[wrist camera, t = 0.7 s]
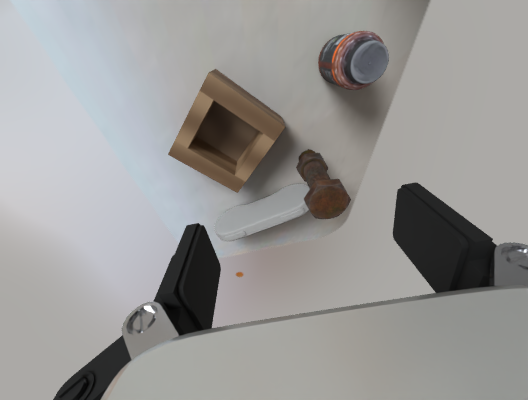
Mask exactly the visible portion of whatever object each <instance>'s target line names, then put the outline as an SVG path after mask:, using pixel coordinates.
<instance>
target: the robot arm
mask: <svg viewBox="0 0 528 400" xmlns="http://www.w3.org/2000/svg"><path fill="white" fill-rule="evenodd" d="M393 237H394V240H395V241H396V242H397V244H398V245H399V246H400V247H401V249H402V250H403V251H404V253H405V254H406V255H407V257H408V258H409V259H410V260H411V262H412V263H413V264H414V265H415V266H416V268H417V269H418V271H419V272H420V273H421V274H422V276H423V277H424V278H425V279H426V281H427V282H428V283H429V285H430V286H431V287H432V288H433V290H434V291H435V292H436V293H433V294H427V295H420V296H413V297H406V298H400V299H393V300H387V301H380V302H373V303H366V304H360V305H354V306H347V307H341V308H334V309H328V310H321V311H315V312H309V313H302V314H296V315H289V316H284V317H277V318H271V319H265V320H258V321H252V322H246V323H240V324H234V325H229V326H223V327H217V328H212V322H213V315H214V309H215V303H216V296H217V290H218V284H219V277H220V271H221V268H220V263H219V260H218V258H217V256H216V253H215V251H214V248H213V246H212V244H211V241H210V239H209V236H208V234H207V231H206V229H205V227H204V226H203V225H202V226H201V225H200V224H199V223H197V224H191V225H187V226H186V228H185V231H184V233H183V236H182V238H181V240H180V243H179V245H178V248H177V250H176V253H175V255H174V256H173V257H172V258H171V261H170V263H169V266H168V268H167V271H166V273H165V275H164V278H163V280H162V282H161V285H160V287H159V290H158V292H157V294H156V297H155V299H154V302H147V303H145V304H142V305H140V306H139V307H137V308H136V309H135V310H133V311H132V312H131V313H130V314H129V316H128V317H127V318H126V320H125V322H124V323H123V327H122V334H123V335H122V336H121V337H120V338H119V339H118V340H116V341H115V342H114V343H112V344H111V345H110V346H109V347H108V348H106V349H105V350H104V351H103V352H101V353H100V354H99V355H98V356H96V357H95V358H94V359H93V360H92V361H91V362H89V363H88V364H87V365H85V366H84V367H83V368H82V369H80V370H79V371H78V372H77V373H76V374H74V375H73V376H72V377H71V378H70V379H69V380H68V381H67V382H65V384H64V385H63V386H62V387H61V388H60V390H59V391H58V392H57V394H56V396H55V398H54V399H53V400H528V245H525V244H520V243H503V244H500V245H498V246H497V245H496V244H494V243H493V242H492V240H493V239H492V238H491V237H489V236H488V235H487V234H485V233H484V232H483V231H481V230H480V229H479V228H477V227H476V226H475V225H473V224H472V223H471V222H469V221H468V220H467V219H465V218H464V217H463V216H461V215H460V214H459V213H457V212H456V211H454V210H453V209H452V208H451V207H449V206H448V205H446V204H445V203H444V202H443V201H441V200H440V199H438V198H437V197H436V196H434V195H433V194H432V193H430V192H429V191H428V190H426V189H425V188H424V187H422V186H421V185H420V184H418V183H411V184H405V185H402V186H401V188H400V189H398V192H397V200H396V209H395V218H394V228H393ZM211 328H212V329H211Z"/></svg>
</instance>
